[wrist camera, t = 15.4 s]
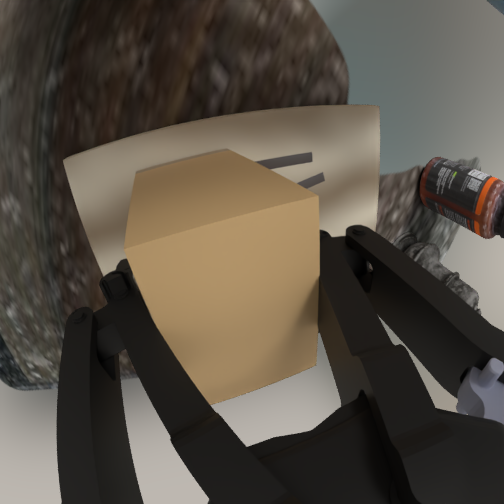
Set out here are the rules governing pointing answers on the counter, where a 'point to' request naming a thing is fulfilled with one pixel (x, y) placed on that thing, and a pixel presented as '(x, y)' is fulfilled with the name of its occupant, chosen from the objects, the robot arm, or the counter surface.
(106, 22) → the counter surface
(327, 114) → the birch board
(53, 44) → the counter surface
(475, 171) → the supplement bottle
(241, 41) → the counter surface
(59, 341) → the counter surface
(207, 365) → the block
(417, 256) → the grey chess piece
